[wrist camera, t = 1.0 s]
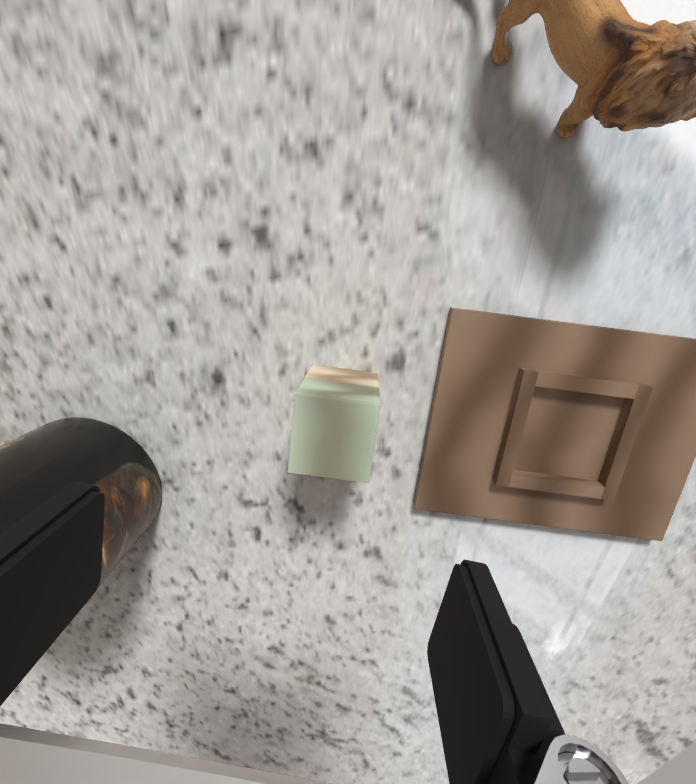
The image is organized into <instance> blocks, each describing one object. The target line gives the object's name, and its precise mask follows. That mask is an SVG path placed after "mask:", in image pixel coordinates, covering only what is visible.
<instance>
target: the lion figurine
mask: <svg viewBox="0 0 696 784" xmlns="http://www.w3.org/2000/svg"><path fill="white" fill-rule="evenodd" d="M535 13H540V15H541V16H542V18H543V20H544V23H545V30H546V35H547V39H548V43H549V47H550V50H551V53H552V55H553V56H554V58H555V60H556V62H557V64H558V65H559V66H560V68H561V69H562V70H563V71H564V72H565V73H566V74H567V75H568V76H569V77H570V78H571V79H572V80H573V81H574V82H575V83H576V84H578V88H577V91H576V94H575V98H574V100H573V102H572V103H571V105H570V106H569V107H568V108H567V109H565V110H564V111H563V113H562V115H561V117H560V119H559V121H558V125H557V134H558V136H559V137H561V138H568V137H570V136H572V135H573V134H574V133H575V131H576V130H577V129H578V124H577V122H581V121H583V120H586V119H587V118H589V117H591V116H592V115H594V118H595V119H597V120H599V121H600V124H601V125H603V127H604V128H613V127H618V128H619V130H621V131H629V130H633V129H645V128H648V127H661V126H663V125H665V124H669V123H674V122H676V121H679V120H685V121H688V120H690V119H692V118H694V117H696V20H693V21H690V22H689V21H686V22H683V23H681V24H678V25H676V24H673V23H669V22H668V21H666V20H661V21H659V22H656V23H654V24H653V25H651V26H650V25H648V24H645V23H641V22H637V21H635V20H633V18H632V17H631V16H630V15H629V14H628V12H627V10H626V9H625V7H624V6H623V4H622V3H621V1H620V0H509V2H508V5H507V6H506V8H504V9H503V10H502V11H501V12H500V13H499V15H498V18H497V27H496V34H495V38H494V41H493V45H492V58H493V61H494V63H495V64H498V65H502V64H504V63H505V62H506V61H507V60H508V59H509V58H510V57H511V55H512V52H513V49H512V45H511V43H510V42H509V40H508V31H509V29H510V28H511V27H513V26H516V25H519V24H522V23H524V22H525V21H526V20H527V19H528V18H529V17H530V16H531V15H533V14H535Z"/></svg>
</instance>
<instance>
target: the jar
mask: <svg viewBox="0 0 696 784" xmlns="http://www.w3.org/2000/svg"><path fill="white" fill-rule="evenodd" d="M72 482H80V483H85V484H90V485H95V486H98V487H99V489H100V493H103V494H104V495H105V509H104V529H103V549H102V569H101V580H100V583H99V585H100V584H101V583H102V581H103V580H104V579H105V578H106V577H107V576H108V574H109V573H110V572H111V571H112V570H113V569H114V567H115V566H116V565H117V564H118V563H119V562H120V560H121V559H122V558H123V557H124V556H125V555H126V553H127V552H128V551H129V550H130V549H131V547H132V546H133V545H134V544H135V543H136V542H137V540H138V539H139V538H140V537H141V536H142V534H143V533H144V532H145V531H146V530H147V528H148V527H149V526H150V524H151V523H152V522H153V520H154V519H155V517H156V515H157V513H158V511H159V508H160V505H161V499H162V488H161V482H160V478H159V475H158V472H157V470H156V467H155V465H154V463H153V462H152V460H151V459H150V457H149V456H148V454H147V453H146V452H145V451H144V449H143V448H142V447H141V446H140V445H139V444H138V443H137V442H136V441H135V440H134V439H132V438H131V437H130V436H128V435H127V434H126V433H124V432H123V431H121V430H119V429H117V428H115V427H113V426H111V425H109V424H107V423H104V422H101V421H97V420H93V419H88V418H65V419H60V420H57V421H53V422H51V423H48V424H46V425H44V426H41V427H39V428H37V429H35V430H33V431H31V432H29V433H26V434H24V435H22V436H20V437H18V438H16V439H14V440H12V441H10V442H8V443H5V444H3V445H1V446H0V534H1V533H2V532H4V531H5V530H7V529H8V528H9V527H11V526H12V525H13V524H15V523H16V522H18V521H19V520H20V519H22V518H23V517H25V516H26V515H27V514H29V513H30V512H31V511H33V510H34V509H36V508H37V507H38V506H40V505H41V504H42V503H44V502H45V501H47V500H48V499H49V498H51V497H52V496H53V495H55V494H56V493H58V492H59V491H60V490H62V489H63V488H64V487H66V486H67V485H69V484H70V483H72Z"/></svg>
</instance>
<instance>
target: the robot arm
mask: <svg viewBox="0 0 696 784" xmlns="http://www.w3.org/2000/svg"><path fill="white" fill-rule="evenodd" d="M104 509H105V495H104V494H103V493H100V489H99V487H98V486H95V485H90V484H85V483H80V482H72V483H70V484H69V485H67V486H66V487H64V488H63V489H62V490H60V491H59V492H58V493H56V494H55V495H53V496H52V497H51V498H49V499H48V500H47V501H45V502H44V503H42V504H41V505H40V506H38V507H37V508H36V509H34V510H33V511H31V512H30V513H29V514H27V515H26V516H25V517H23V518H22V519H20V520H19V521H18V522H16V523H15V524H13V525H12V526H11V527H9V528H8V529H7V530H5V531H4V532H2V533H1V534H0V706H1V705H2V703H3V702H4V701H5V700H6V699H7V697H8V696H9V695H10V694H11V693H12V691H13V690H14V689H15V688H16V687H17V685H18V684H19V683H20V682H21V681H22V679H23V678H24V677H25V676H26V675H27V673H28V672H29V671H30V670H31V669H32V667H33V666H34V665H35V664H36V663H37V661H38V660H39V659H40V658H41V657H42V655H43V654H44V653H45V652H46V651H47V649H48V648H49V647H50V646H51V645H52V643H53V642H54V641H55V640H56V639H57V637H58V636H59V635H60V634H61V632H62V631H63V630H64V629H65V628H66V626H67V625H68V624H69V623H70V622H71V620H72V619H73V618H74V617H75V616H76V614H77V613H78V612H79V611H80V610H81V608H82V607H83V606H84V605H85V604H86V602H87V601H88V600H89V599H90V598H91V596H92V595H93V594H94V593H95V591H96V590H97V588H98V586H99V583H100V580H101V569H102V549H103V529H104ZM427 653H428V662H429V667H430V673H431V679H432V685H433V691H434V696H435V702H436V708H437V714H438V719H439V725H440V731H441V737H442V742H443V748H444V754H445V760H446V766H447V771H448V777H449V783H450V784H628V782H627V780H626V779H625V777H624V775H623V774H622V772H621V771H620V770H619V769H618V767H617V766H616V765H615V764H614V763H613V761H612V760H611V759H610V758H609V757H608V756H606V755H605V754H604V753H603V752H602V751H601V750H600V749H599V748H597V747H596V746H594V745H593V744H591V743H590V742H588V741H587V740H584V739H582V738H579V737H577V736H574V735H565V733H564V730H563V728H562V726H561V724H560V721H559V719H558V717H557V715H556V712H555V710H554V708H553V706H552V703H551V701H550V699H549V696H548V694H547V692H546V690H545V687H544V685H543V683H542V681H541V678H540V676H539V674H538V672H537V669H536V667H535V665H534V663H533V660H532V658H531V656H530V653H529V651H528V649H527V647H526V644H525V642H524V640H523V638H522V635H521V633H520V631H519V630H518V628H517V626H515V625H514V624H512V622H511V620H510V617H509V615H508V613H507V610H506V608H505V606H504V603H503V601H502V599H501V597H500V594H499V592H498V590H497V587H496V585H495V583H494V580H493V578H492V576H491V573H490V571H489V569H488V567H487V565H486V564H484V563H479V562H474V561H469V560H463V561H462V562H461V565H460V564H456V565H455V566H454V568H453V571H452V574H451V577H450V579H449V582H448V585H447V588H446V591H445V594H444V597H443V600H442V603H441V606H440V609H439V612H438V615H437V618H436V621H435V624H434V627H433V630H432V633H431V636H430V639H429V642H428V650H427ZM0 784H331V783H326V782H321V781H315V780H310V779H305V778H300V777H294V776H289V775H284V774H278V773H273V772H268V771H262V770H257V769H251V768H246V767H241V766H235V765H230V764H224V763H219V762H213V761H208V760H203V759H197V758H192V757H186V756H181V755H175V754H170V753H164V752H159V751H153V750H148V749H142V748H137V747H131V746H125V745H120V744H114V743H108V742H103V741H97V740H91V739H86V738H80V737H74V736H69V735H63V734H57V733H52V732H46V731H40V730H35V729H29V728H23V727H18V726H12V725H6V724H0Z"/></svg>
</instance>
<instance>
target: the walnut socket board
mask: <svg viewBox="0 0 696 784" xmlns="http://www.w3.org/2000/svg"><path fill="white" fill-rule="evenodd" d="M695 457H696V339H692V338H685V337H677V336H669V335H661V334H653V333H645V332H638V331H630V330H622V329H614V328H606V327H598V326H591V325H583V324H575V323H567V322H559V321H551V320H544V319H536V318H528V317H520V316H512V315H504V314H497V313H489V312H481V311H473V310H465V309H457V308H450V311H449V317H448V322H447V327H446V332H445V338H444V343H443V348H442V354H441V359H440V364H439V369H438V375H437V380H436V385H435V391H434V396H433V401H432V406H431V412H430V417H429V422H428V428H427V433H426V438H425V443H424V449H423V454H422V459H421V465H420V470H419V475H418V480H417V486H416V491H415V496H414V507H415V509H421V510H429V511H436V512H444V513H452V514H459V515H467V516H474V517H482V518H490V519H497V520H505V521H512V522H520V523H528V524H535V525H543V526H550V527H558V528H566V529H573V530H581V531H588V532H596V533H604V534H611V535H619V536H626V537H634V538H642V539H649V540H657V541H662V540H663V537H664V535H665V532H666V530H667V527H668V525H669V522H670V520H671V517H672V515H673V512H674V510H675V507H676V504H677V502H678V499H679V497H680V494H681V492H682V489H683V487H684V484H685V482H686V479H687V477H688V474H689V472H690V469H691V467H692V464H693V462H694V459H695Z"/></svg>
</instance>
